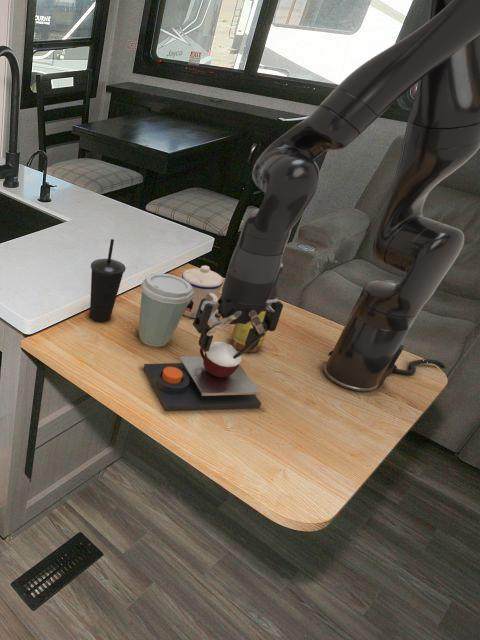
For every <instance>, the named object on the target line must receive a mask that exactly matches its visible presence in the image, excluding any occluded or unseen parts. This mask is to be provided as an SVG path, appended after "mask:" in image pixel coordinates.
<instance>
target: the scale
mask: <svg viewBox="0 0 480 640" xmlns="http://www.w3.org/2000/svg"><path fill="white" fill-rule="evenodd" d="M166 367H175V368H178V369H179V370H181V371H182V373H183V376H182V379H181V382H180V383H179V384H171V383H168V382H166V381H164V380H163V379H162V373H163V370H164V368H166ZM142 370H143V371H144V373H145V375H146V377H147V380H148V381H149V383H150V385H151V387H152V388H153V391H154V393H155V395H156V397H157V399H158V401H159V403H160V405H161V406H162V409H163V410H164V412H190V411H191V412H193V411H224V410H229V411H230V410H252V409H253V410H255V409H256V410H257V409H258V410H260V407H261V405H262V402H261V401H260V399H259V398H258V397H257V396H256V394H253V395H218V396H201V394H200V392H199V391H198V389H197V388H196V386H195V384H194V383H193V381H192V380H191V378H190V376H189V375H188V373H187V372H186V370H185V368H184V367H183V365H182V364H181V362H167V363H166V362H165V363H144V365H143V369H142Z"/></svg>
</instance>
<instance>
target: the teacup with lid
mask: <svg viewBox="0 0 480 640" xmlns="http://www.w3.org/2000/svg"><path fill="white" fill-rule="evenodd" d="M181 278H183V279H184V280H186V281H187V282H188V283H190V285H191V286H192V289H193V292H194V294H193V297H192V298H191V299H190V301H189V303H188V305H187V307H186V309H185V311H184V313H183V315H182V316H185V317H188V318H192V319H195V316H196V314H197V311H198V308H199V305H200V302H201V300H202V299H204V298H206V299H207V300H208V301H218V300H219V298H218V296H219V293H220V290H221V288H222V287H223V284H224V280H223V277H222V275H220V274H219V273H217V272H215V271H213V270H211V268H210V266H209V265H201V266H200V267H193V268H188V269H187V270H185V271H184V272H183V273H182V274H181ZM216 310H217V309H215V310H214V312H215V311H216Z"/></svg>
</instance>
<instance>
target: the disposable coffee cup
mask: <svg viewBox="0 0 480 640" xmlns="http://www.w3.org/2000/svg"><path fill="white" fill-rule="evenodd" d="M140 288H141V289H140V290H141V297H140V309H139V324H138V337H139V340H140V341H141V342H142V343H143V344H145V345H147V346H150V347H156V348H159V347H160V348H161V347H165V346H166V345H168V343H169V342H170V341H171V339H172V337H173V335H174V333H175V331H176V329H177V327H178V325H179V323H180V321H181V320H182V317H183V316H184V315H183V313H184V311H185V309H186V307H187V305H188V303H189V301H190V299H191V298H192V297H193V294H194V292H193V289H192V286H191V285H190V283H188V282H187V281H186V280H184V279H183V278H182V277H180V276H178V275H173V274H171V273H163V272H158V273H150V274H149V275H147V276H145V278H144V279H143V280H142V281H141V284H140Z"/></svg>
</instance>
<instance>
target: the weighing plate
mask: <svg viewBox="0 0 480 640" xmlns="http://www.w3.org/2000/svg"><path fill="white" fill-rule="evenodd" d="M178 361H179V363H181V364H182V365H183V367H184V368H185V370H186V372H187V373H188V375H189V376H190V378H191V380H192V381H193V383H194V384H195V386H196V388H197V389H198V391H199V392H200V394H201V396H218V395H253V394H255V395H260V394H261V391H260V389H259V387H257V385H256V383H254V381H253V380H252V379H251V377H250V376H249V375H248V374H247V371H245V370H244V368H243V366H241V365H240V364H239V366H238V368H237V369H236V370H235V372H234V373H233V374H231V375H230V376H228V377H222V378H220V377H215V376H213V375H211V374H209V373H208V372H207V371H206V369H205V367H204V365H203V358H202V356H201V355H194V356H193V355H191V356H190V355H189V356H186V355H185V356H178Z"/></svg>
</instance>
